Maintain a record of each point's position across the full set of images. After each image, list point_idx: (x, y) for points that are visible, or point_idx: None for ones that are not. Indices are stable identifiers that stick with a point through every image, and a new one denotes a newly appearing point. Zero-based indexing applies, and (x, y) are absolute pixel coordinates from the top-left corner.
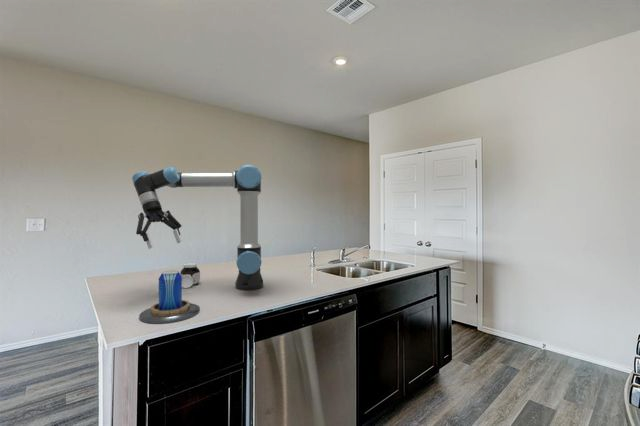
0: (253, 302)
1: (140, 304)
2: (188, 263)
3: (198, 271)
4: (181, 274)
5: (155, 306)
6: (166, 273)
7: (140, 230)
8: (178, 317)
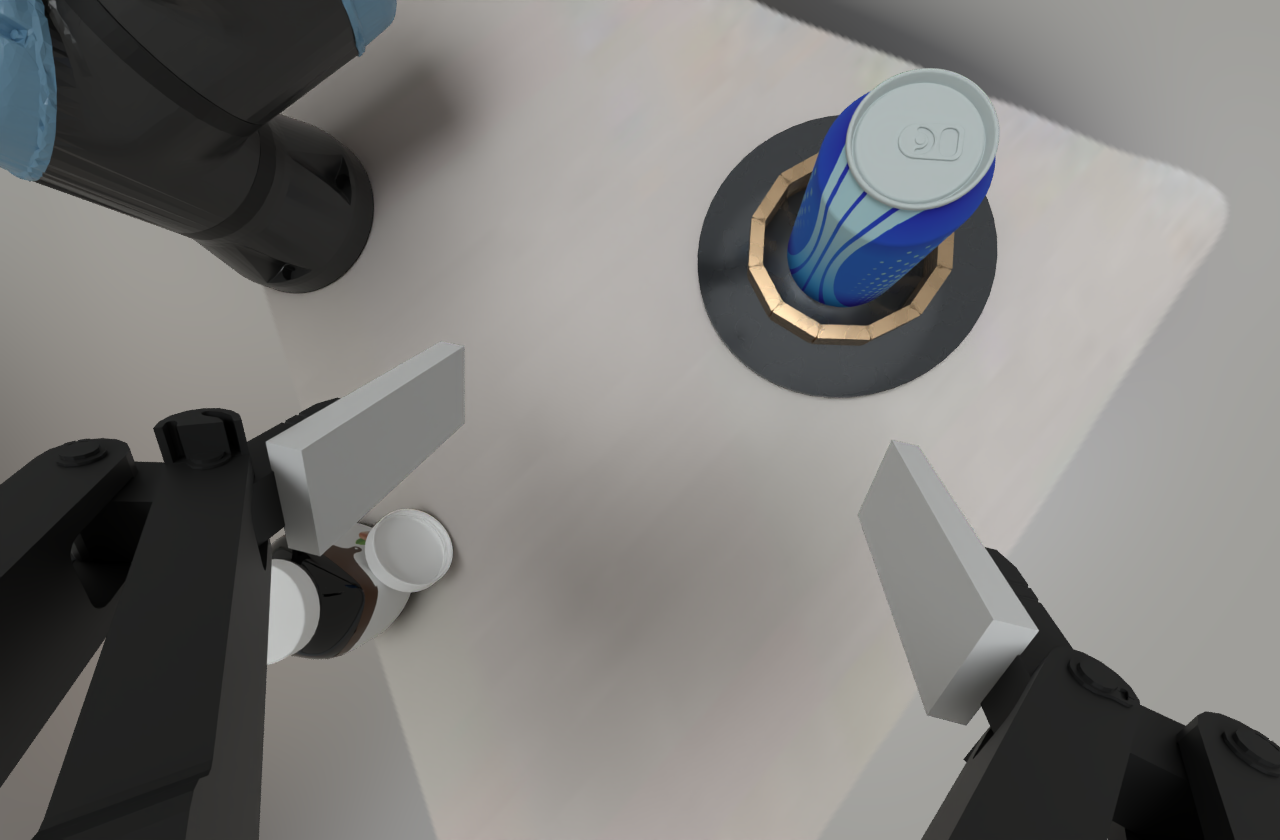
0: (543, 8)
1: (779, 532)
2: None
3: None
4: (372, 616)
5: (882, 318)
6: (963, 139)
7: (1257, 756)
8: None
